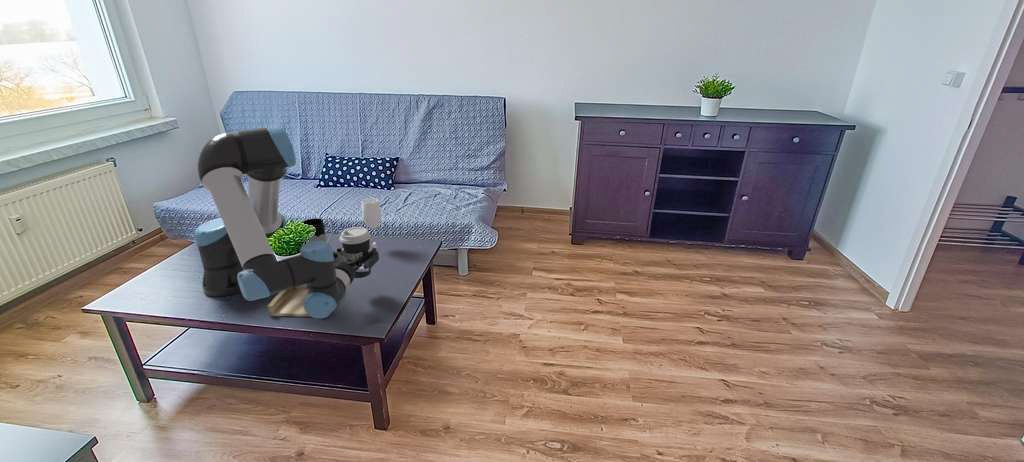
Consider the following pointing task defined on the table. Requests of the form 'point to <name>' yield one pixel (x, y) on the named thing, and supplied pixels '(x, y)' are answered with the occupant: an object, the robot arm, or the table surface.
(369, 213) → the cup
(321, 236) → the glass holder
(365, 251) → the coffee cup
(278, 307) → the tray
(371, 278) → the table surface
